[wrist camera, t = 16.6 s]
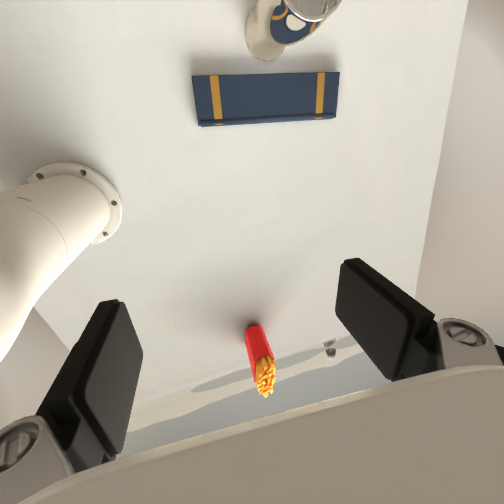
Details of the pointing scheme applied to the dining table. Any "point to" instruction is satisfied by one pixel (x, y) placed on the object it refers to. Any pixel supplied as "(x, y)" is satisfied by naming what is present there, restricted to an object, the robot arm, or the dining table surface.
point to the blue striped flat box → (265, 98)
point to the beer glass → (284, 24)
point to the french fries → (260, 359)
